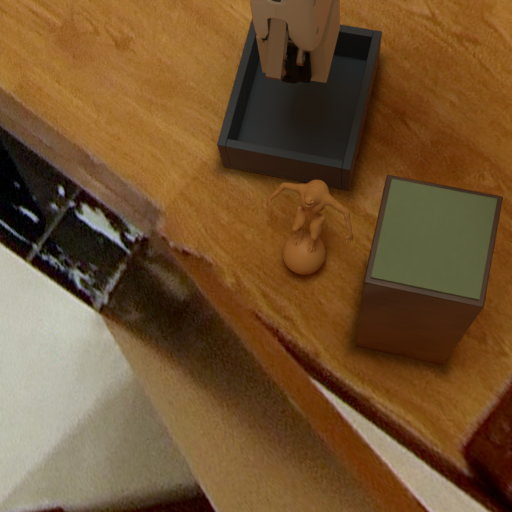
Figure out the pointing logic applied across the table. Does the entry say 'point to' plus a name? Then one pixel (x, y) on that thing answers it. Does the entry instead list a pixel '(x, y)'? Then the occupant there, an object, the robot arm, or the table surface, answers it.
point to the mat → (434, 239)
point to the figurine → (305, 243)
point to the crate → (302, 114)
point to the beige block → (322, 53)
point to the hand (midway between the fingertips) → (301, 43)
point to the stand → (417, 304)
